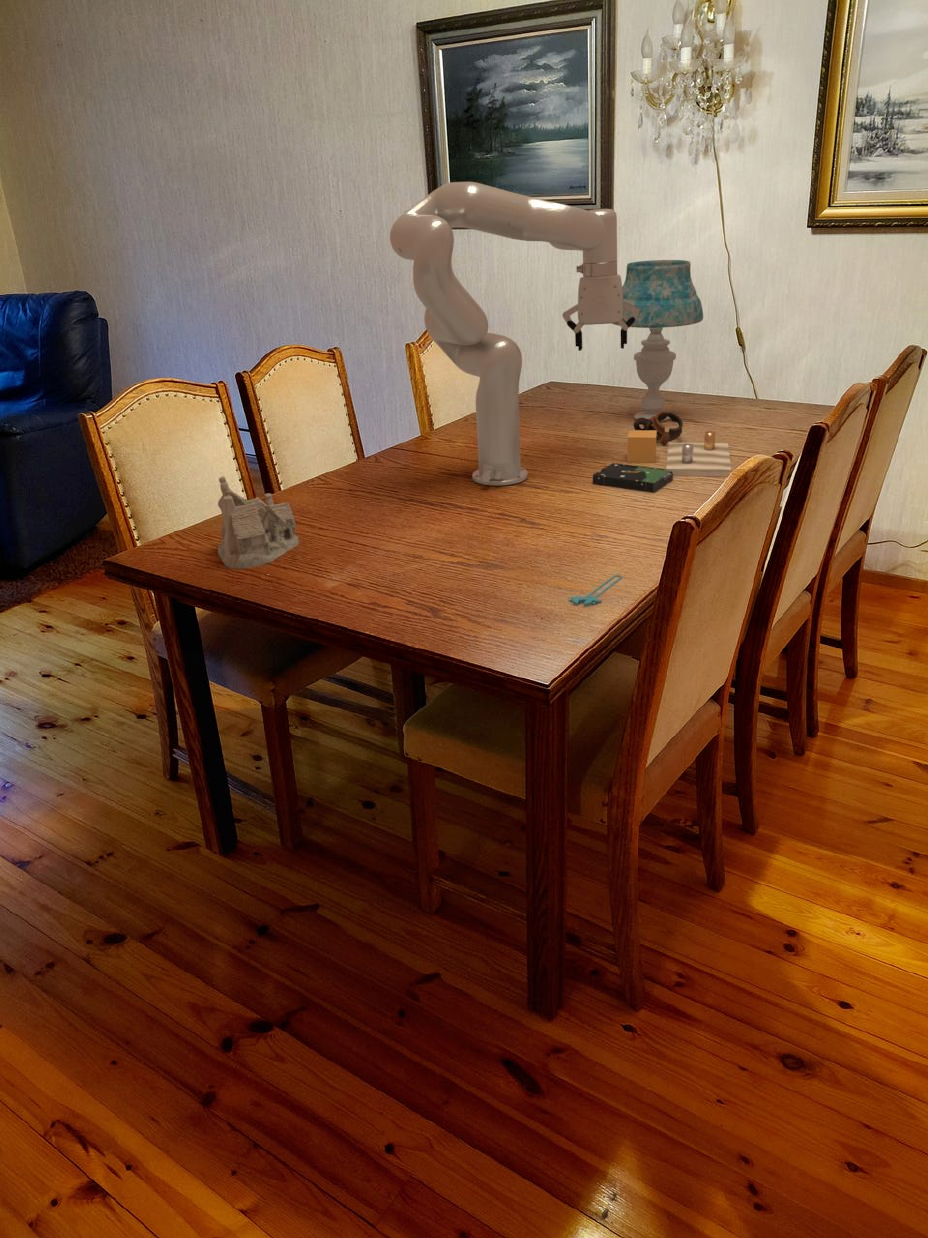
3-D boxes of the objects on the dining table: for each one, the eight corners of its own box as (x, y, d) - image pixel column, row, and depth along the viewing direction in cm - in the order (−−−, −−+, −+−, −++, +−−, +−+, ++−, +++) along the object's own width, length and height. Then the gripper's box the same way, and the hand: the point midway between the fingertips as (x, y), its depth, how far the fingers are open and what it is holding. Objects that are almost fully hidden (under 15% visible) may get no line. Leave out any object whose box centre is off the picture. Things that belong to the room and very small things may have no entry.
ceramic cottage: (220, 571, 167) (211, 491, 161) (216, 544, 181) (208, 470, 176) (306, 563, 171) (300, 484, 165) (296, 538, 185) (290, 464, 180)
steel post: (692, 463, 207) (693, 446, 205) (681, 463, 207) (682, 446, 206) (692, 460, 209) (693, 443, 207) (681, 460, 209) (682, 443, 208)
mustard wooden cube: (654, 462, 214) (655, 437, 211) (627, 462, 215) (627, 437, 213) (655, 455, 220) (656, 430, 217) (628, 454, 221) (629, 430, 218)
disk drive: (591, 487, 202) (655, 495, 195) (591, 474, 201) (655, 482, 193) (612, 474, 210) (673, 481, 202) (612, 462, 209) (674, 469, 201)
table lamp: (604, 410, 263) (606, 261, 245) (688, 406, 261) (696, 256, 244) (613, 431, 241) (616, 269, 224) (705, 427, 240) (715, 264, 223)
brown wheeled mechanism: (672, 435, 237) (684, 411, 230) (674, 460, 231) (687, 436, 224) (627, 426, 235) (638, 401, 229) (629, 451, 229) (640, 426, 223)
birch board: (730, 476, 202) (731, 469, 201) (665, 475, 205) (666, 468, 204) (727, 449, 221) (728, 443, 220) (668, 448, 224) (668, 442, 223)
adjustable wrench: (592, 606, 145) (564, 599, 147) (592, 611, 145) (565, 605, 148) (632, 575, 155) (605, 569, 157) (632, 580, 155) (605, 575, 158)
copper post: (714, 450, 215) (715, 433, 214) (704, 450, 216) (705, 433, 214) (714, 447, 217) (715, 431, 216) (703, 447, 218) (704, 431, 216)
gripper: (559, 274, 202) (562, 353, 210) (639, 269, 199) (639, 349, 207) (562, 270, 209) (565, 347, 217) (639, 265, 205) (639, 343, 213)
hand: (601, 348), depth 212 cm, fingers open, 9 cm apart
